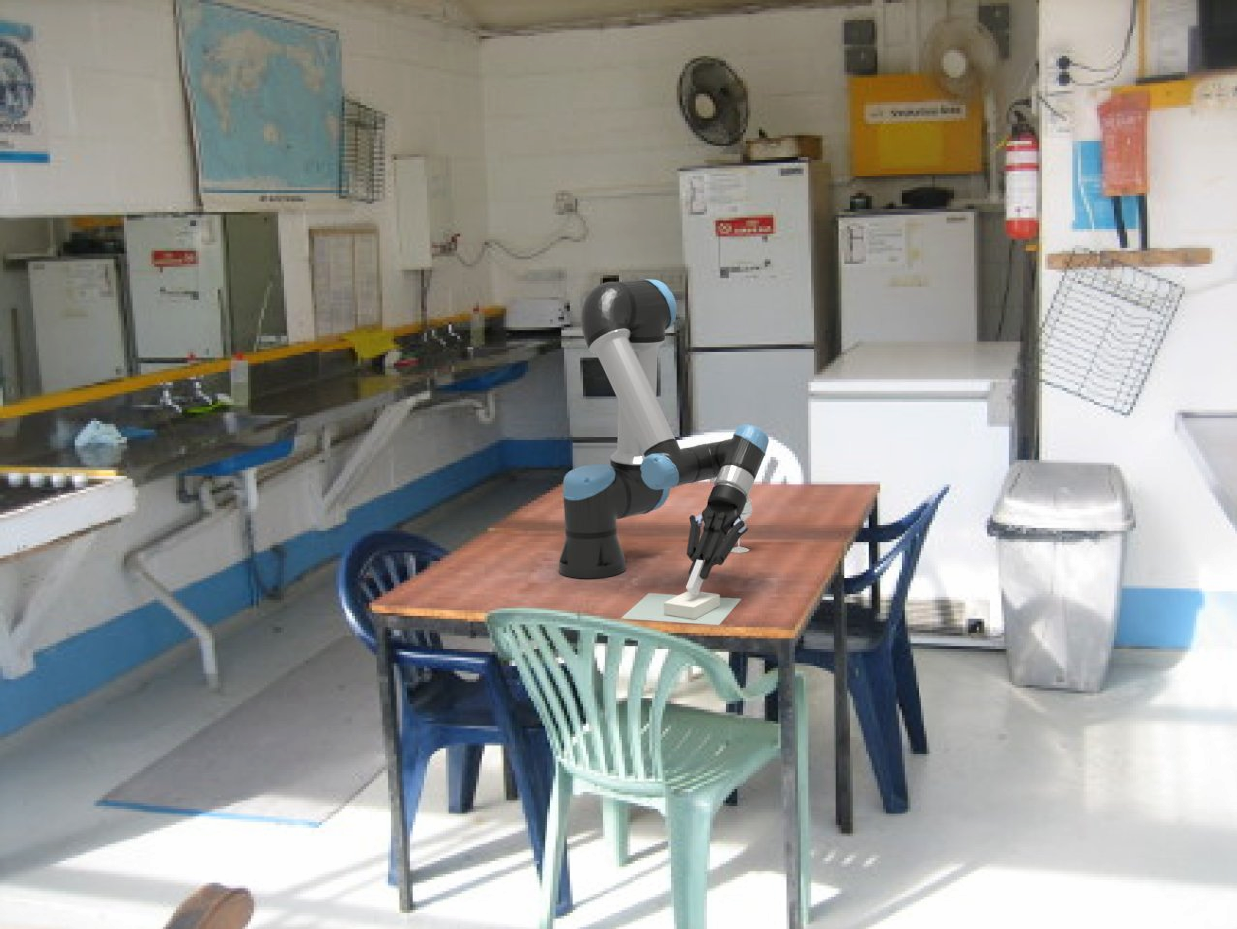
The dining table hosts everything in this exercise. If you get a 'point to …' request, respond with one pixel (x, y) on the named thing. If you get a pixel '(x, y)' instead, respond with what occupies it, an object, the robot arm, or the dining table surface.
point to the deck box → (691, 604)
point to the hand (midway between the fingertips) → (691, 591)
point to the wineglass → (744, 516)
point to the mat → (654, 611)
